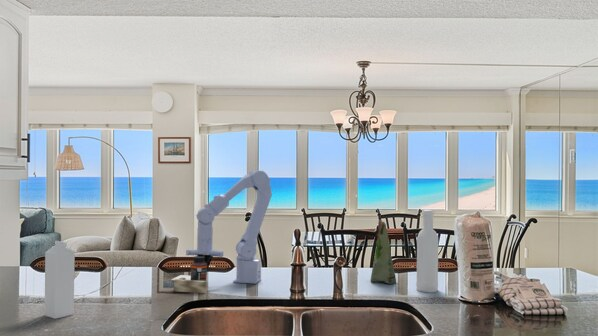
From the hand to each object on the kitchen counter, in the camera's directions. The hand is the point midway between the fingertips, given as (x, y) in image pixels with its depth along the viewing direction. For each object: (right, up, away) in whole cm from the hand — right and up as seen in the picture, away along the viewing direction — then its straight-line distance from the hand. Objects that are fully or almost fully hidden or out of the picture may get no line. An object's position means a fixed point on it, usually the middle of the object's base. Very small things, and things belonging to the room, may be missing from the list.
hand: (204, 274), depth 200 cm
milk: (-35, -3, -45) cm, 57 cm away
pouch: (+70, -5, +8) cm, 70 cm away
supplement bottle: (-1, -4, -6) cm, 7 cm away
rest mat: (-9, -3, +8) cm, 12 cm away
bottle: (+85, -5, -5) cm, 85 cm away
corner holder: (-2, -3, -11) cm, 12 cm away
